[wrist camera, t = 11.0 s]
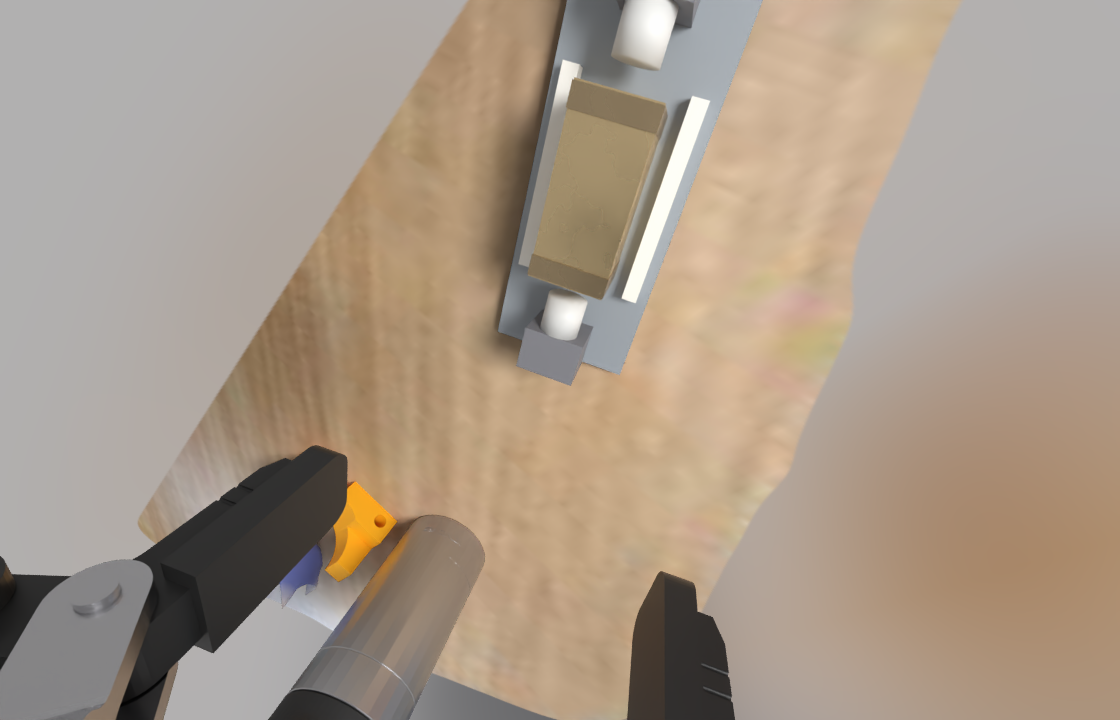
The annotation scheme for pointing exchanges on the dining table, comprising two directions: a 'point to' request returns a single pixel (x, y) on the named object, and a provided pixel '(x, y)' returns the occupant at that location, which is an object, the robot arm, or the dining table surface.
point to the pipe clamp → (357, 531)
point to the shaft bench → (693, 108)
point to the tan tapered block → (595, 186)
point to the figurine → (302, 575)
